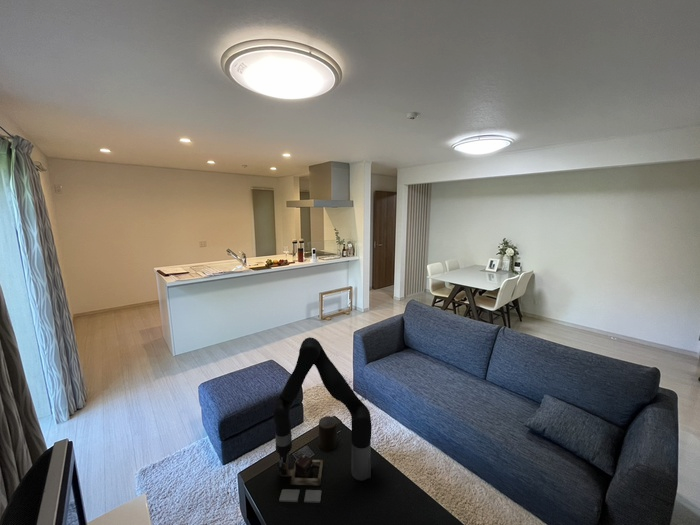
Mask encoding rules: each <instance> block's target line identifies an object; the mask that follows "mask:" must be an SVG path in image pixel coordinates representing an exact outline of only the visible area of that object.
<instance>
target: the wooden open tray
mask: <svg viewBox="0 0 700 525" xmlns="http://www.w3.org/2000/svg"><path fill="white" fill-rule="evenodd" d="M298 459H299V458H298ZM298 459H297V458H296V459H295V462H296V461H297V460H298ZM295 462H294V463H295ZM312 464H313V467H319V468H318V475H317V478H316V477H312V478H311V477H308V478H299V477H297V476H296V468H295V464H294V466H293V469H289V468H290V467H289V460H288V461H287V464H286V475H281V474H280V477H290V485H291V486H292V485H293V486H321V482H322V476H323V475H322V474H323V467H324V460H323V459H312Z"/></svg>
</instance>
